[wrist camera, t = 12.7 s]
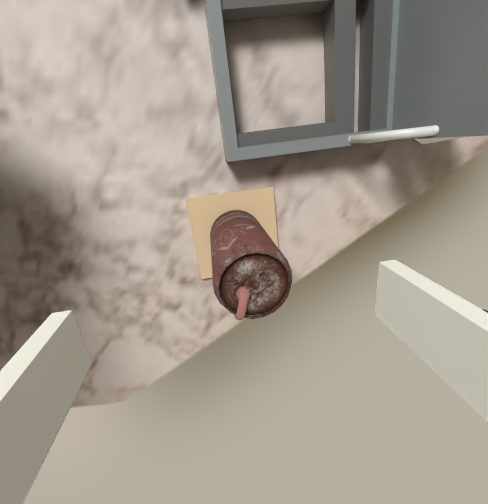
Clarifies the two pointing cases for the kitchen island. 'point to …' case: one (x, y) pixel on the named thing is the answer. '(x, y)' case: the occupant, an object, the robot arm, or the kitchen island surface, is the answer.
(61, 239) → the kitchen island surface
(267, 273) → the can
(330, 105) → the case
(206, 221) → the mat
